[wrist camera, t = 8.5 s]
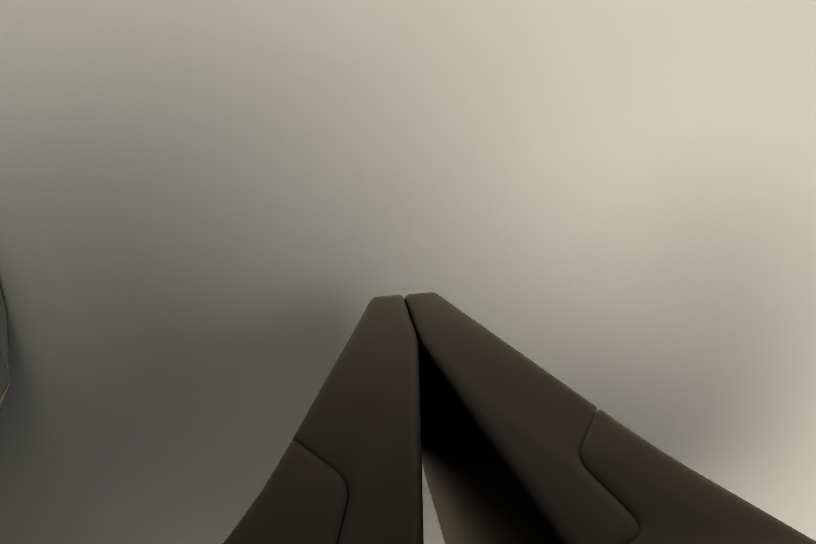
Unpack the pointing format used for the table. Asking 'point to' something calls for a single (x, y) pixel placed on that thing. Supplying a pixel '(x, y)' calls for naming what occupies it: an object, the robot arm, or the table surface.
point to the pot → (3, 352)
